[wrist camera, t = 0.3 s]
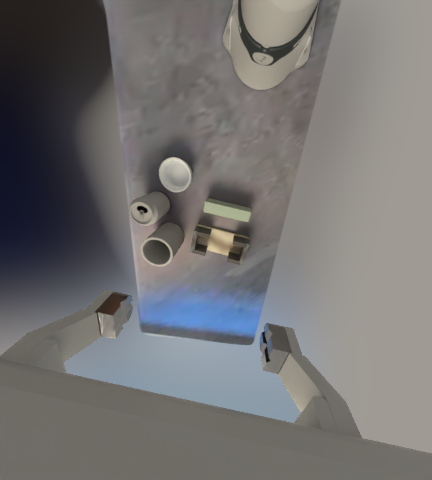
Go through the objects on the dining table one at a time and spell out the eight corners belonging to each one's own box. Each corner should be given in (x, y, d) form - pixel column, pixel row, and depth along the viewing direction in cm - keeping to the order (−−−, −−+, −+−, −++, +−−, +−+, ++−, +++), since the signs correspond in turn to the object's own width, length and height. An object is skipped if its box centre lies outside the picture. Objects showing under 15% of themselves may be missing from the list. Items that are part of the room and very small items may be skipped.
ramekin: (158, 167, 52) (152, 168, 48) (183, 150, 49) (179, 150, 46) (175, 194, 55) (170, 197, 51) (200, 180, 52) (197, 182, 48)
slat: (207, 197, 54) (205, 201, 50) (250, 207, 54) (251, 212, 50) (206, 207, 55) (203, 211, 51) (247, 217, 55) (248, 222, 51)
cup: (175, 252, 63) (162, 272, 52) (153, 237, 61) (135, 253, 51) (189, 234, 60) (178, 251, 49) (166, 217, 58) (150, 230, 47)
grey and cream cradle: (197, 223, 58) (194, 229, 53) (248, 237, 58) (250, 244, 53) (193, 245, 61) (189, 252, 56) (241, 257, 61) (242, 266, 56)
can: (172, 194, 55) (156, 203, 44) (169, 217, 58) (153, 231, 47) (148, 188, 55) (126, 195, 44) (146, 211, 58) (125, 223, 47)
